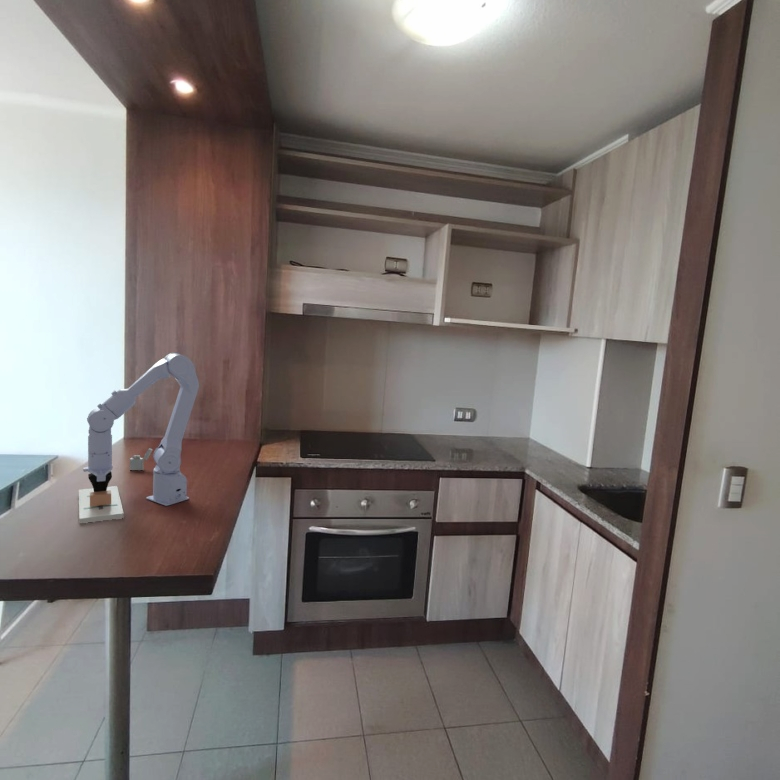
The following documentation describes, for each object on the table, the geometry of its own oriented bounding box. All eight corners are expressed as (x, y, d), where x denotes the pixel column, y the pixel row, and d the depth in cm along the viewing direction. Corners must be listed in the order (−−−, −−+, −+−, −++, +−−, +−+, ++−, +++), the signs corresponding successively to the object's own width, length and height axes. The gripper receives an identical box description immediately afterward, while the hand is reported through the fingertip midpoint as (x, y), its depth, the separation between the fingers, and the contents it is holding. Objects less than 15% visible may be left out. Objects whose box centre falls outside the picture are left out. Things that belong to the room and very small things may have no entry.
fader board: (78, 494, 145) (78, 489, 145) (116, 490, 150) (117, 485, 150) (79, 524, 125) (79, 518, 125) (123, 518, 130) (123, 512, 130)
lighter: (129, 470, 170) (129, 448, 169) (130, 469, 171) (131, 447, 170) (151, 470, 172) (151, 448, 171) (152, 469, 173) (153, 447, 172)
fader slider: (89, 502, 134) (89, 492, 134) (110, 500, 137) (110, 490, 137) (90, 506, 132) (90, 495, 131) (111, 504, 135) (111, 493, 134)
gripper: (82, 446, 139) (83, 492, 141) (83, 459, 127) (83, 509, 129) (111, 444, 143) (111, 489, 144) (114, 457, 131) (114, 505, 132)
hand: (100, 498), depth 137 cm, fingers closed
